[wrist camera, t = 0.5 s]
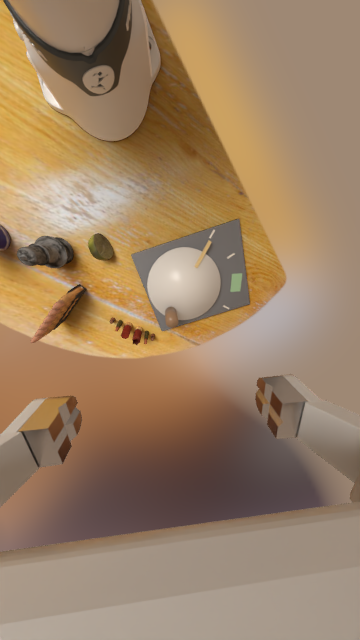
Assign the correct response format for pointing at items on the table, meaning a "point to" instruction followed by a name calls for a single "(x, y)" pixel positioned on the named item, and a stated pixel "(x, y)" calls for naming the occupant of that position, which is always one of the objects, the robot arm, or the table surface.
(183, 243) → the dial plate
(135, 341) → the ammunition
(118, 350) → the table surface
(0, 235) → the energy drink
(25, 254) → the salt shaker
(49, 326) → the ammunition clip
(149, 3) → the table surface
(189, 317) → the dial
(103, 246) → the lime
